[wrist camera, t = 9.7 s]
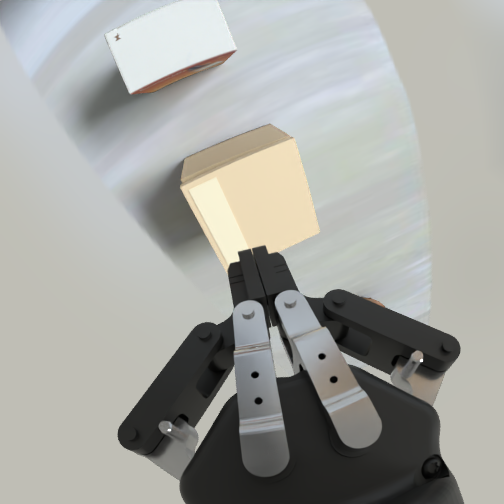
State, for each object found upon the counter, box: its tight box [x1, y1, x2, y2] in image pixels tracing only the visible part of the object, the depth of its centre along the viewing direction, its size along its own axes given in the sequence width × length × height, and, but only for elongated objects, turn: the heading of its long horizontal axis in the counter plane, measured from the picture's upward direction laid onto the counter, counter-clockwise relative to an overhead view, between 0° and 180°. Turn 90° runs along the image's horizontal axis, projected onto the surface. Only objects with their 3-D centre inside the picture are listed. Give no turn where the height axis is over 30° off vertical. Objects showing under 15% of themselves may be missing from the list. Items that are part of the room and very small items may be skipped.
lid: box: [180, 137, 320, 274], centre depth 24 cm, size 10×10×1 cm
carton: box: [181, 124, 290, 183], centre depth 27 cm, size 10×10×7 cm
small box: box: [104, 0, 237, 95], centre depth 17 cm, size 8×6×10 cm
